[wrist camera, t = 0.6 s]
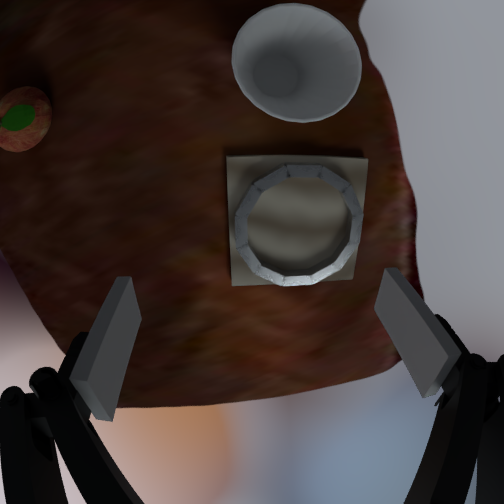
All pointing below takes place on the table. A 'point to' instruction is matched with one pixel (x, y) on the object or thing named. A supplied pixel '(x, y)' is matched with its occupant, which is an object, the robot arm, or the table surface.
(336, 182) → the ring collar
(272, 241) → the board
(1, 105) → the fruit
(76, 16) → the table surface
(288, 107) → the cup
